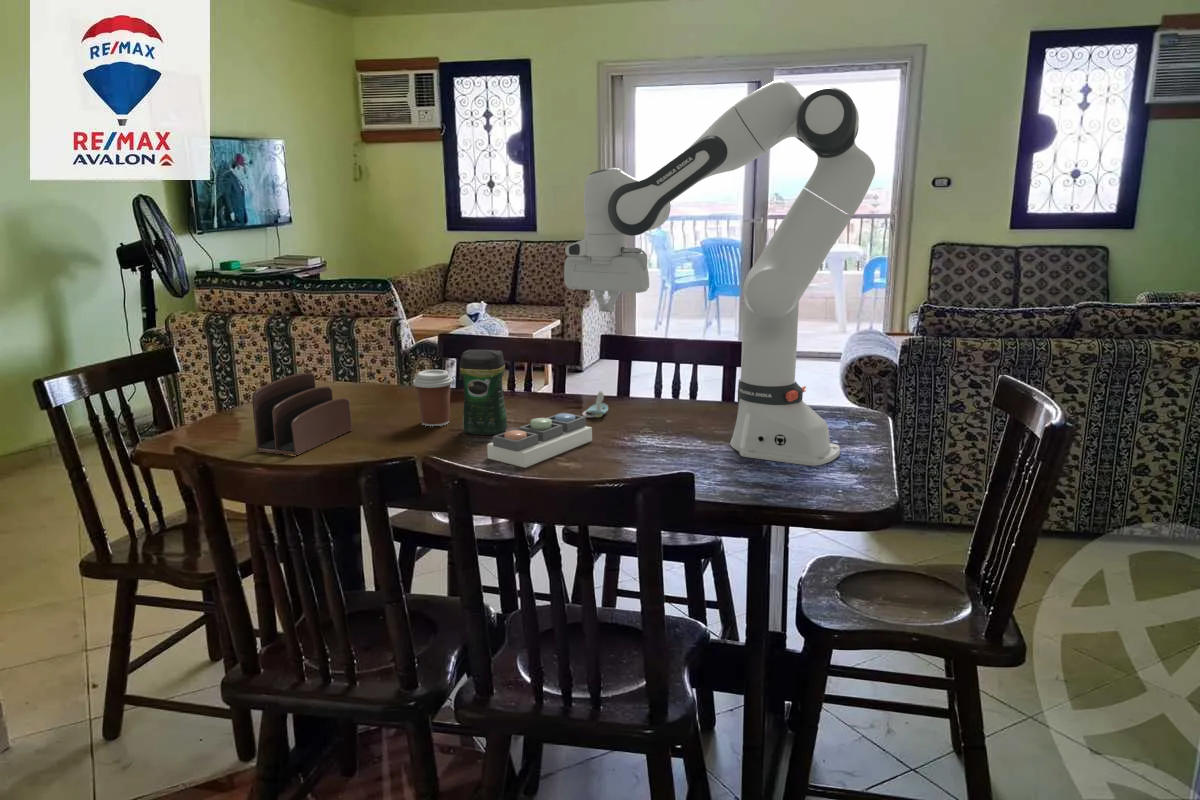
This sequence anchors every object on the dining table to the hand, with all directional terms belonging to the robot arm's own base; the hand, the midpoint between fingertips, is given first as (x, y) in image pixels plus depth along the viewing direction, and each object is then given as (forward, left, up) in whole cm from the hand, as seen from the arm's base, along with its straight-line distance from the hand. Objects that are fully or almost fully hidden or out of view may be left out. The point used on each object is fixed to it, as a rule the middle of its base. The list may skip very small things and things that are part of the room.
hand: (606, 311), depth 183 cm
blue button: (+3, +11, -23) cm, 26 cm away
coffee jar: (+22, +16, -27) cm, 39 cm away
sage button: (+3, +19, -22) cm, 30 cm away
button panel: (+3, +19, -27) cm, 33 cm away
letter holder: (+48, +45, -27) cm, 71 cm away
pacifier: (+10, -9, -27) cm, 30 cm away
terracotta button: (+3, +27, -23) cm, 36 cm away
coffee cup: (+36, +18, -27) cm, 49 cm away
